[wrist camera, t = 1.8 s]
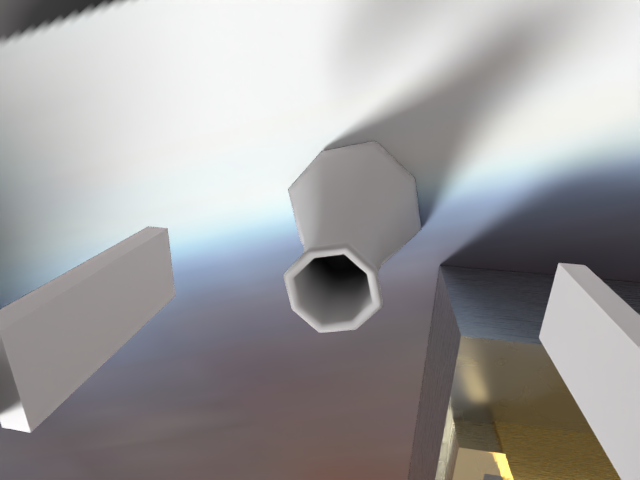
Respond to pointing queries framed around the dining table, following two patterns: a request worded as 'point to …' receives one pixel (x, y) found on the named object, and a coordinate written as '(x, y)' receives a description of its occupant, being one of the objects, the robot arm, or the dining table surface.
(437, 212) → the dining table surface
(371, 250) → the flask
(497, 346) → the grey and yellow box
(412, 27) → the dining table surface
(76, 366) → the robot arm
